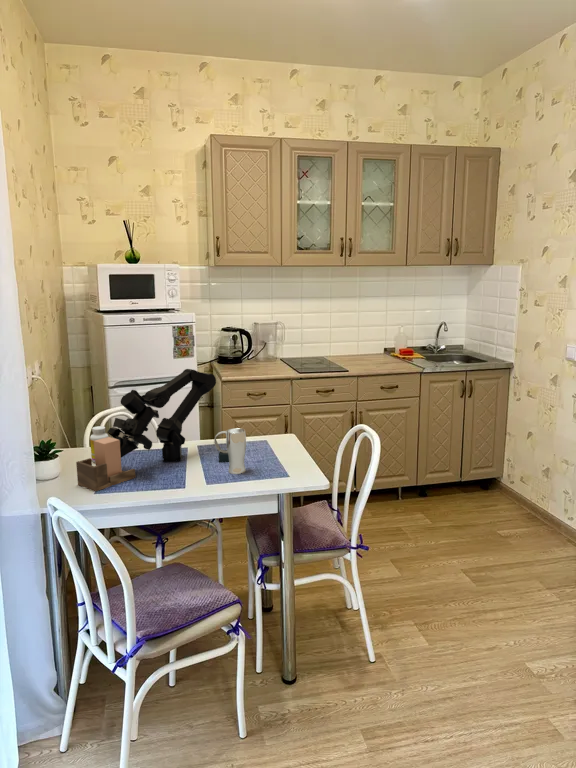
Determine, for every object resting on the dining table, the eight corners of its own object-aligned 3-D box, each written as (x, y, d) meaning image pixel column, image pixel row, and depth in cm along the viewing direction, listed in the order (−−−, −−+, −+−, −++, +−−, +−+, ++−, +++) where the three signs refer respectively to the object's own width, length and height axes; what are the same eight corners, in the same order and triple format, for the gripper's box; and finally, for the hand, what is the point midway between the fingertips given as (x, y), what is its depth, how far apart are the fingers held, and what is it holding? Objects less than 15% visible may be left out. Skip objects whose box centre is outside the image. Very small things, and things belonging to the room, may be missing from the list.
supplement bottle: (106, 463, 218) (104, 430, 215) (89, 463, 218) (86, 430, 215) (112, 457, 224) (110, 425, 222) (95, 457, 224) (92, 425, 222)
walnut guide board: (118, 471, 209) (116, 450, 207) (135, 477, 203) (134, 455, 201) (78, 484, 196) (76, 461, 195) (95, 491, 190) (93, 467, 189)
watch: (235, 462, 218) (235, 433, 216) (214, 462, 218) (213, 433, 215) (236, 457, 223) (236, 429, 221) (215, 457, 223) (214, 429, 221)
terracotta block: (111, 472, 204) (108, 436, 202) (122, 476, 200) (119, 439, 198) (96, 477, 199) (93, 440, 197) (107, 481, 196) (104, 444, 193)
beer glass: (228, 468, 211) (227, 427, 208) (247, 468, 211) (246, 427, 208) (225, 474, 204) (224, 433, 202) (245, 474, 204) (244, 433, 201)
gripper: (110, 405, 208) (84, 442, 202) (143, 412, 197) (117, 451, 190) (129, 422, 216) (106, 458, 209) (163, 430, 204) (139, 468, 198)
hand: (116, 458), depth 201 cm, fingers closed, pressing on terracotta block
